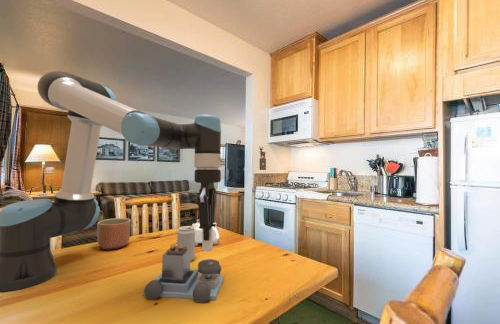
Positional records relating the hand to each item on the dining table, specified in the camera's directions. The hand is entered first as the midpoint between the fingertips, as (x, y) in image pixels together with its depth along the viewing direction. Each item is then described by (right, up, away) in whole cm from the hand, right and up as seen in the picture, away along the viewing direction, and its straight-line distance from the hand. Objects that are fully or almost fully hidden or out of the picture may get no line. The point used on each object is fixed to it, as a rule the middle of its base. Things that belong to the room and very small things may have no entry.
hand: (207, 250), depth 69 cm
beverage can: (-12, -11, +20) cm, 26 cm away
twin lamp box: (-9, -10, +1) cm, 13 cm away
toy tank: (-9, -12, +41) cm, 43 cm away
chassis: (-6, -11, 0) cm, 12 cm away
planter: (-46, -11, +33) cm, 57 cm away
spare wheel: (0, -8, 0) cm, 8 cm away
